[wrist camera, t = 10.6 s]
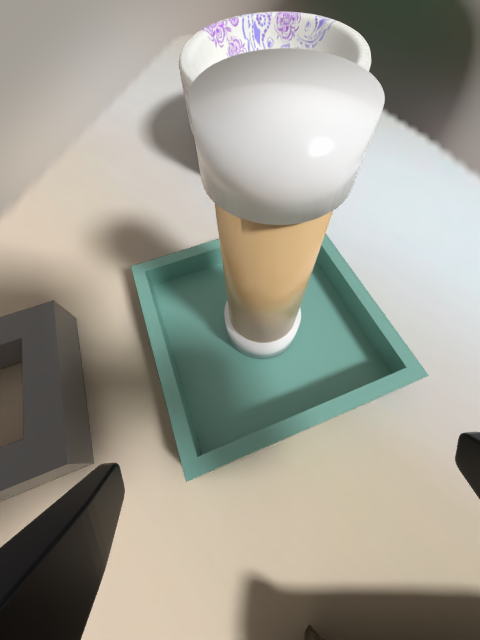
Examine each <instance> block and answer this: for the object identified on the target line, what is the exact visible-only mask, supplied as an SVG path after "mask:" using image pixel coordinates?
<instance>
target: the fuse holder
mask: <svg viewBox="0 0 480 640" xmlns="http://www.w3.org/2000/svg"><path fill="white" fill-rule="evenodd" d="M19 362H22V370H23V424H24V439H22V440H19V441H17V442H14V443H11V444H9V445H6V446H4V447H1V448H0V501H2V500H5V499H7V498H10V497H12V496H15V495H17V494H19V493H22V492H24V491H27V490H29V489H32V488H34V487H37V486H39V485H42V484H44V483H46V482H49V481H51V480H54V479H56V478H59V477H61V476H64V475H66V474H69V473H71V472H73V471H76V470H78V469H81V468H83V467H86V466H88V465H91V464H93V463H94V461H93V453H92V444H91V436H90V428H89V420H88V412H87V404H86V396H85V388H84V380H83V372H82V363H81V355H80V347H79V339H78V331H77V323H76V318H75V317H74V316H72V315H71V314H70V313H69V312H67V311H66V310H65V309H64V308H62V307H61V306H60V305H59V304H57V303H56V302H55V301H51V302H48V303H44V304H41V305H38V306H35V307H32V308H29V309H26V310H22V311H19V312H16V313H13V314H10V315H7V316H4V317H0V369H1V368H4V367H7V366H10V365H13V364H16V363H19Z"/></svg>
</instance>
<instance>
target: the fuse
mask: <svg viewBox="0 0 480 640" xmlns="http://www.w3.org/2000/svg"><path fill="white" fill-rule="evenodd" d="M188 101H189V108H190V114H191V120H192V126H193V132H194V138H195V144H196V150H197V156H198V162H199V168H200V174H201V180H202V184H203V187H204V189H205V191H206V193H207V195H208V196H209V197H210V198H211V199H212V201H213V202H214V203H215V209H216V217H217V225H218V232H219V240H220V248H221V255H222V263H223V271H224V278H225V286H226V294H227V302H226V305H225V310H224V317H225V323H226V329H227V334H228V338H229V340H230V342H231V344H232V345H233V346H234V347H235V349H237V350H238V351H239V352H240V353H242V354H243V355H245V356H247V357H250V358H254V359H270V358H274V357H276V356H279V355H280V354H282V353H283V352H285V351H286V350H287V349H288V348H289V347H290V345H291V344H292V342H293V340H294V338H295V335H296V332H297V330H298V327H299V324H300V321H301V309H300V305H301V302H302V300H303V297H304V294H305V291H306V288H307V285H308V282H309V279H310V276H311V273H312V270H313V268H314V265H315V262H316V259H317V256H318V253H319V250H320V247H321V244H322V241H323V238H324V236H325V233H326V230H327V227H328V224H329V221H330V218H331V215H332V212H333V210H334V209H336V208H337V207H338V206H339V205H341V204H342V203H343V202H344V201H345V199H346V198H347V197H348V195H349V193H350V192H351V190H352V187H353V185H354V182H355V179H356V177H357V174H358V172H359V169H360V166H361V164H362V161H363V159H364V156H365V153H366V151H367V148H368V146H369V143H370V140H371V138H372V135H373V133H374V130H375V127H376V125H377V122H378V120H379V117H380V114H381V112H382V109H383V106H384V92H383V89H382V87H381V85H380V83H379V82H378V81H377V79H376V78H375V77H374V76H373V75H372V74H371V73H370V72H369V71H367V70H366V69H364V68H363V67H361V66H359V65H358V64H356V63H354V62H352V61H349V60H347V59H345V58H342V57H339V56H336V55H332V54H328V53H324V52H319V51H314V50H306V49H294V48H278V49H264V50H257V51H251V52H246V53H242V54H238V55H235V56H231V57H229V58H226V59H223V60H221V61H219V62H217V63H215V64H213V65H212V66H210V67H208V68H207V69H205V70H204V71H203V72H202V73H200V74H199V75H198V77H197V78H196V79H195V80H194V82H193V83H192V85H191V87H190V90H189V94H188Z"/></svg>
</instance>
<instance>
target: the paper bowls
mask: <svg viewBox="0 0 480 640" xmlns="http://www.w3.org/2000/svg"><path fill="white" fill-rule="evenodd" d="M278 48H294V49H306V50H314V51H319V52H324V53H328V54H332V55H336V56H339V57H342V58H345V59H347V60H349V61H352V62H354V63H356V64H358V65H359V66H361V67H363V68H364V69H366V70H367V71H369V69H370V65H371V52H370V49H369V46H368V44H367V42H366V41H365V39H364V38H363V37H362V36H361V35H360V34H359V33H358V32H357V31H355V30H354V29H352V28H351V27H349V26H347V25H345V24H343V23H341V22H338V21H335V20H333V19H330V18H326V17H323V16H318V15H314V14H307V13H298V12H261V13H251V14H247V15H241V16H236V17H233V18H228V19H225V20H222V21H219V22H216V23H214V24H212V25H209V26H207V27H205V28H203V29H202V30H200V31H199V32H197V33H196V34H195V35H194V36H193V37H192V38H191V39H190V40H188V41H187V43H186V44H185V45H184V47H183V49H182V51H181V54H180V59H179V69H180V75H181V81H182V86H183V91H184V97H185V102H186V106H187V112H188V113H187V114H188V119H189V123H190V127H191V131H192V133H193V136H194V132H193V126H192V120H191V114H190V108H189V101H188V94H189V90H190V87H191V85H192V83H193V82H194V80H195V79H196V78H197V77H198V75H199V74H200V73H202V72H203V71H204V70H205V69H207V68H208V67H210V66H212V65H213V64H215V63H217V62H219V61H221V60H223V59H226V58H229V57H231V56H235V55H238V54H242V53H246V52H251V51H257V50H264V49H278Z"/></svg>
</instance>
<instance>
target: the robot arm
mask: <svg viewBox="0 0 480 640" xmlns="http://www.w3.org/2000/svg"><path fill="white" fill-rule="evenodd" d="M455 461H456V464H457V467H458V468H459V470H460V472H461V473H462V474H463V476H464V477H465V479H466V480H467V482H468V483H469V484H470V486H471V487H472V489H473V490H474V492H475V493H476V495H477V496H478V497H479V499H480V432H467V433H462V434H461V435H460V436H459V439H458V445H457V450H456V456H455ZM124 494H125V488H124V483H123V479H122V474H121V470H120V467H119V465H118V464H117V463H107V464H101V465H99V466H98V467H97V468H96V469H94V470H93V471H92V472H91V473H90V474H88V475H87V476H86V477H85V478H84V479H82V480H81V481H80V482H79V483H78V484H76V485H75V486H74V487H73V488H72V489H70V490H69V491H68V492H67V493H66V494H64V495H63V496H62V497H61V498H60V499H58V500H57V501H56V502H55V503H54V504H52V505H51V506H50V507H49V508H48V509H46V510H45V511H44V512H43V513H42V514H40V515H39V516H38V517H37V518H36V519H34V520H33V521H32V522H31V523H30V524H28V525H27V526H26V527H25V528H24V529H22V530H21V531H20V532H19V533H18V534H16V535H15V536H14V537H13V538H12V539H10V540H9V541H8V542H7V543H6V544H4V545H3V546H2V547H1V548H0V640H81V637H82V634H83V632H84V629H85V626H86V623H87V620H88V617H89V615H90V612H91V609H92V606H93V603H94V600H95V598H96V595H97V592H98V589H99V586H100V583H101V580H102V577H103V574H104V571H105V568H106V565H107V561H108V557H109V554H110V550H111V546H112V542H113V538H114V534H115V530H116V527H117V523H118V519H119V515H120V511H121V507H122V503H123V499H124Z"/></svg>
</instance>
